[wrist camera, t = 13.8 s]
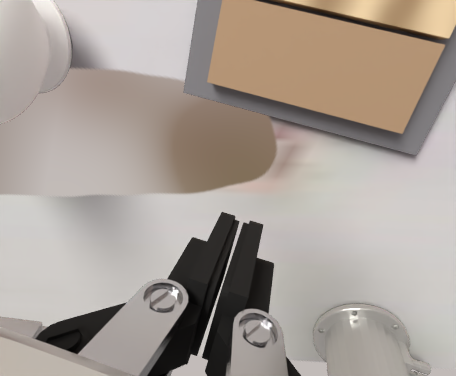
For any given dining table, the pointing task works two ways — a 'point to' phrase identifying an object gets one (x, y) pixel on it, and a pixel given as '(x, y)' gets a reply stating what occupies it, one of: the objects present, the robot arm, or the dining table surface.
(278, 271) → the dining table surface
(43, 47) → the decorative vase
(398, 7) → the board
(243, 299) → the robot arm
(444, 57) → the floor board
